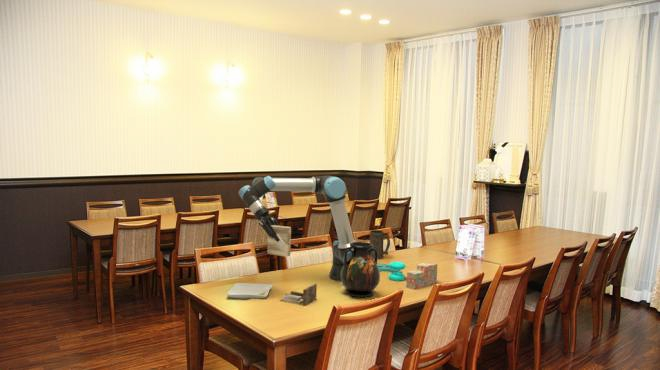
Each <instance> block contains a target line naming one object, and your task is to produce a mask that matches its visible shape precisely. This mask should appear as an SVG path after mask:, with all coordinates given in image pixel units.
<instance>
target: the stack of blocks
mask: <svg viewBox="0 0 660 370" xmlns="http://www.w3.org/2000/svg"><path fill="white" fill-rule="evenodd" d="M437 279H438V263H435V262H430V261H428V262H427V261H426V262H423V263H419V264H416V269H414V270H410V271H409V270H408V271H407V272H406V285H405V286H406V288H408V289H411V290H414V291H415V290H419V289H421V288H422V289H423V288H425V287H426V288H427V287H429V286H433V285H436V284H437ZM435 283H436V284H435Z"/></svg>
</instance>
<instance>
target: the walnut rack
mask: <svg viewBox="0 0 660 370" xmlns="http://www.w3.org/2000/svg"><path fill="white" fill-rule="evenodd" d="M286 294H288V295H294V296H300V297H302V299H303V303H302V304H300V305H299V304H297V305H298V306H303V307H307V306H309V305H310V304H312V303H313V302H315V301H317V300H318V299H317V283H314V284H311V285H309V286H308V287H306V288H304V289H303V291H302V292H297V291H294V290H293V291H290V293H285V294H284V296H285V295H286ZM279 302H284V301H283V298H282V299H280V300H279ZM284 303H285V302H284ZM287 303H288V304H290V303H289V302H287ZM292 304H294V303H292ZM294 305H295V304H294Z"/></svg>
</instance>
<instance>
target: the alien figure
mask: <svg viewBox="0 0 660 370" xmlns="http://www.w3.org/2000/svg"><path fill="white" fill-rule="evenodd" d="M377 266H378V269H379V272H380V273H381V272H384V273H385V272H387V273H389V272H390V273H393V272H399V273H402V274H403V271H402V270H394V269H391V268H390V267H389V264H388V263H377Z"/></svg>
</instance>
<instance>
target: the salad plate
mask: <svg viewBox="0 0 660 370" xmlns="http://www.w3.org/2000/svg"><path fill="white" fill-rule="evenodd" d="M272 288H273V284H269V283H267V284H266V283H248V282H247V283H245V282H244V283H242V282H236V283H234V284H233V285H232V287H231V288H230V289H229V290H228V292H226V295H227V296H228V297H229V298H233V299H239V300H240V299H241V300H242V299H243V300H244V299H245V300H251V299H265V298H267V297H268V295H269V292H270V291H271V289H272ZM262 294H263V295H262Z"/></svg>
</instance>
